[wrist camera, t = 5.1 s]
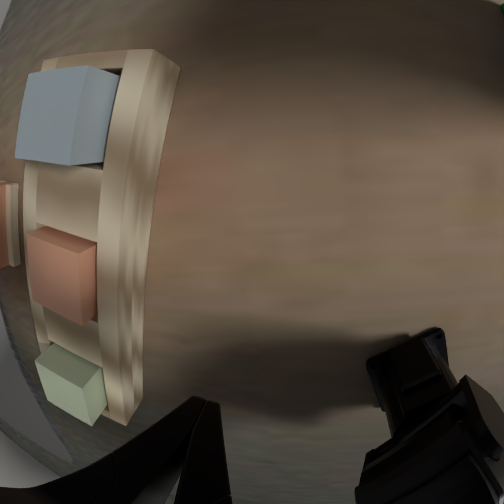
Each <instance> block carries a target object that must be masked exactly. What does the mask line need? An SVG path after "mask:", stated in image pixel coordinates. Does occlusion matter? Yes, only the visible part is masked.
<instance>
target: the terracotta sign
mask: <svg viewBox="0 0 504 504" xmlns="http://www.w3.org/2000/svg"><path fill="white" fill-rule="evenodd" d="M18 185H19V184H17V183H13V182H9V181H4V180H2V181H0V269H2V268H4V267H6V266H8V265H11V266H12V267H16V266H18V265H20V264H21V261H20V249H19V231H18Z"/></svg>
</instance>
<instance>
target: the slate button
mask: <svg viewBox="0 0 504 504" xmlns="http://www.w3.org/2000/svg"><path fill="white" fill-rule="evenodd" d="M119 80H120V76H118V75H115V74H113V73H110V72H107V71H104V70H101V69H98V68H95V67H92V66H89V65H86V66H76V67H68V68H60V69H53V70H47V71H41V72H35V73H30V74H29V76H28V80H27V84H26V89H25V93H24V98H23V103H22V108H21V114H20V120H19V127H18V134H17V142H16V151H15V158H20V159H27V160H35V161H42V162H48V163H55V164H61V165H68V166H71V165H79V164H88V163H98V162H104V156H105V149H106V143H107V137H108V131H109V125H110V120H111V115H112V110H113V105H114V101H115V96H116V92H117V88H118V84H119Z"/></svg>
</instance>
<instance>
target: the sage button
mask: <svg viewBox="0 0 504 504" xmlns="http://www.w3.org/2000/svg"><path fill="white" fill-rule="evenodd" d="M35 364H36V367H37V370H38V374H39V377H40V380H41V383H42V386H43V389H44V392H45V394H46V397H47V400H48V401H50V402H51V403H53V404H54V405H56V406H58V407H59V408H61V409H62V410H64V411H66V412H67V413H69V414H71V415H73V416H74V417H76V418H78V419H80V420H81V421H83V422H85V423H87V424H89V425H90V426H92V425H93V424H94V423H95V421H96V420H97V418H98V417H99V416H100V414H101V413H102V411H103V410H104V409H105V407H106V406H107V404H108V403H107V397H106V391H105V385H104V378H103V370H102V367H100V366H98V365H96V364H94V363H92V362H90V361H88V360H86V359H84V358H82V357H80V356H78V355H76V354H74V353H73V352H71V351H69V350H67V349H65V348H63V347H61V346H60V345H58V344H56V343H53V344H52V345H51V346H50V347H49V348H48V349H47V350H46V351H44V352H43V353H42V354H41V355H40V356H39V357H38V358H37V359H36V360H35Z"/></svg>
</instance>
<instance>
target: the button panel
mask: <svg viewBox="0 0 504 504" xmlns="http://www.w3.org/2000/svg"><path fill="white" fill-rule="evenodd" d="M86 65H89V66H92V67H95V68H98V69H101V70H104V71H107V72H110V73H113V74H115V75H118V76H120V80H119V84H118V88H117V92H116V96H115V101H114V105H113V110H112V115H111V120H110V125H109V131H108V137H107V143H106V149H105V156H104V162H98V163H88V164H79V165H71V166H68V165H61V164H55V163H48V162H42V161H35V160H27V159H25V172H24V191H23V229H24V249H25V262H26V272H27V281H28V289H29V296H30V302H31V308H32V314H33V319H34V325H35V329H36V334H37V339H38V343H39V347H40V351H41V354H42V353H43V352H44V351H46V350H47V349H48V348H49V347H50V346H51V345H52V344H53V343H56V344H58V345H60V346H61V347H63V348H65V349H67V350H69V351H71V352H73V353H74V354H76V355H78V356H80V357H82V358H84V359H86V360H88V361H90V362H92V363H94V364H96V365H98V366H100V367H102V370H103V378H104V385H105V391H106V397H107V403H108V404H107V406H106V407H105V409H104V410H103V411H102V413H101V414H102V415H104V416H106V417H108V418H110V419H112V420H114V421H116V422H118V423H121V424H123V425H125V426H126V425H127V424H128V422H129V420H130V419H131V417H132V415H133V414H134V412H135V411H136V409H137V407H138V406H139V404H140V402H141V401H142V399H143V316H144V296H145V281H146V268H147V256H148V246H149V237H150V228H151V220H152V212H153V204H154V197H155V190H156V184H157V178H158V172H159V166H160V160H161V154H162V149H163V144H164V139H165V134H166V129H167V124H168V119H169V115H170V110H171V106H172V102H173V97H174V93H175V89H176V85H177V81H178V77H179V73H180V70H181V67H180V66H178V65H177V64H175V63H174V62H172V61H171V60H169V59H168V58H166V57H165V56H163V55H162V54H160V53H159V52H157V51H156V50H154V49H134V50H116V51H104V52H94V53H85V54H78V55H71V56H65V57H59V58H53V59H48V60H44V61H43V65H42V68H41V71H47V70H53V69H60V68H68V67H76V66H86ZM46 226H49V227H52V228H55V229H58V230H61V231H64V232H67V233H70V234H73V235H76V236H79V237H82V238H85V239H88V240H91V241H94V242H97V308H98V313H97V314H96V315H95V316H94V317H92V318H91V319H90V320H89V321H88V322H87V323H86V324H84V325H83V326H82V325H80V324H77V323H75V322H73V321H71V320H69V319H67V318H65V317H63V316H61V315H59V314H57V313H55V312H54V311H52V310H50V309H48V308H46V307H44V306H42V305H40V304H39V303H37V302H35V301H33V298H32V291H31V283H30V274H29V264H28V251H27V234H28V233H30V232H33V231H35V230H38V229H40V228H43V227H46Z"/></svg>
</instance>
